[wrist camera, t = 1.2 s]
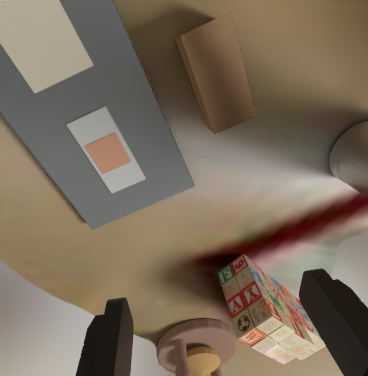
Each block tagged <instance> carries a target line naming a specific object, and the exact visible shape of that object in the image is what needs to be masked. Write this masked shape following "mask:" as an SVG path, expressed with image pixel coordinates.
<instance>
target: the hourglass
mask: <svg viewBox="0 0 368 376" xmlns="http://www.w3.org/2000/svg"><path fill="white" fill-rule="evenodd" d="M236 348H237V347H236V337H235V334H234V332H233V330H232V329H231V328H230V326H229V325H227V324H225V323H223V322H221V321H219V320H214V319H207V318H205V319H194V320H190V321H186V322H183V323H180V324H178V325H176V326H174V327H173V328H171V329H169V330H168V331H167V332H166V333H165V334H164V335H163V336H162V337H161V338H160V339H159V342H158V346H157V358H158V361H159V364H160V365H161V366H162V367H163V368H165V369H166V370H167V371H170V372H173V373H176V376H205V375H207V374H209V373H211V376H222V374H221V370H220V366H221V365H223V364H224V363H225V362H226V361H228V360H229V359H230V358H231V357H232V356H233V354H234V352H235V350H236Z"/></svg>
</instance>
